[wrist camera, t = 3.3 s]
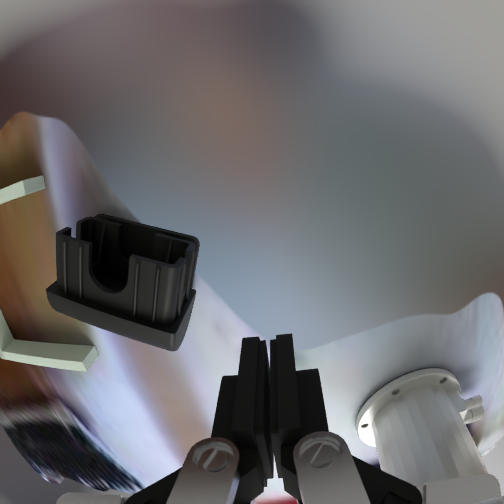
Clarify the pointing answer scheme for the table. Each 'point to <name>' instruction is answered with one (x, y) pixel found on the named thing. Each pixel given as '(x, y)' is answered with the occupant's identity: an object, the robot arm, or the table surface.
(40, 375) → the table surface
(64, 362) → the holder
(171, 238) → the end cap
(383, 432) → the robot arm
